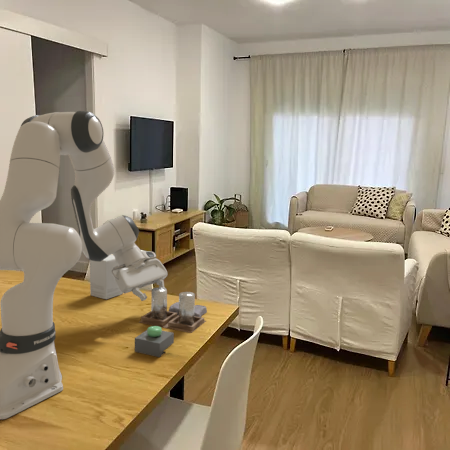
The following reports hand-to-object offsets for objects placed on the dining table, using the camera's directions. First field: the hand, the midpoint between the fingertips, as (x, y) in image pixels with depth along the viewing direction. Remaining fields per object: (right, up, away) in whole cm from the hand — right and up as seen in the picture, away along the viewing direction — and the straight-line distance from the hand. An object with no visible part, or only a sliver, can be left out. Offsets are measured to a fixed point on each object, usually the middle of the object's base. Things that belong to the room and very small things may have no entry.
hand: (154, 295), depth 149 cm
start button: (+3, -11, -20) cm, 23 cm away
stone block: (+11, -8, +8) cm, 16 cm away
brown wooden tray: (+6, -9, -2) cm, 11 cm away
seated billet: (+11, -9, -4) cm, 14 cm away
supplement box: (-23, -4, +26) cm, 34 cm away
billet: (+1, -8, 0) cm, 8 cm away
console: (+3, -12, -19) cm, 23 cm away
